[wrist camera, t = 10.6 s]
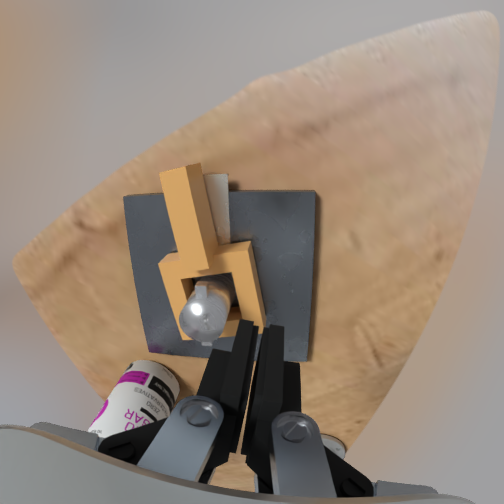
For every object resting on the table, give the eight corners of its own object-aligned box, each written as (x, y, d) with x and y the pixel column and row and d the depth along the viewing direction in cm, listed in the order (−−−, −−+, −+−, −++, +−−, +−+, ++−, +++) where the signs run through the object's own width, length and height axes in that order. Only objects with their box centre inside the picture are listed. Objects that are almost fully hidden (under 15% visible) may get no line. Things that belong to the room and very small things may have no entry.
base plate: (306, 355, 37) (309, 407, 29) (152, 346, 39) (125, 390, 31) (314, 172, 30) (325, 182, 22) (126, 178, 32) (80, 192, 24)
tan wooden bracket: (233, 155, 29) (224, 157, 24) (266, 318, 34) (263, 345, 30) (148, 175, 30) (125, 181, 26) (189, 326, 36) (177, 351, 31)
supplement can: (125, 384, 43) (83, 455, 29) (133, 347, 40) (82, 424, 26) (173, 406, 43) (142, 483, 29) (187, 372, 40) (152, 457, 26)
